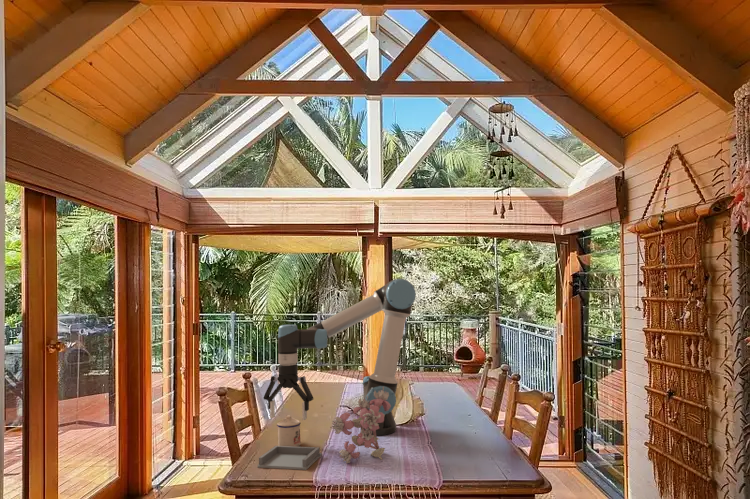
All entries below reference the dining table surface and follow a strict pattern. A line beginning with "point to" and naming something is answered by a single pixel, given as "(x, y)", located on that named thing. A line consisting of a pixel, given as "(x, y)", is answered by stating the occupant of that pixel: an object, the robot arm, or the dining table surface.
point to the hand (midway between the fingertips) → (288, 418)
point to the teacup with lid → (289, 432)
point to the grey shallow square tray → (289, 457)
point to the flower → (363, 426)
